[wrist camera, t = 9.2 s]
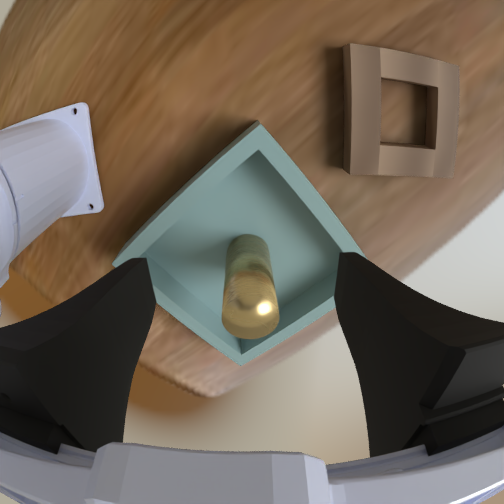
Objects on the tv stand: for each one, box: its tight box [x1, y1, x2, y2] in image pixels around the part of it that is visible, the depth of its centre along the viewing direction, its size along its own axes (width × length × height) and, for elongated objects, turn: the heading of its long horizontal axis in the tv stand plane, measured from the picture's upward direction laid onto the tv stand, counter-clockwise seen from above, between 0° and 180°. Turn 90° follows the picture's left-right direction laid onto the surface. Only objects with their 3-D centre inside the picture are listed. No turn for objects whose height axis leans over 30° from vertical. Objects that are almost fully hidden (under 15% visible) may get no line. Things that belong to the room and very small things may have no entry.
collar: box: [342, 43, 459, 178], centre depth 17 cm, size 8×8×2 cm
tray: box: [112, 120, 368, 366], centre depth 21 cm, size 13×13×3 cm
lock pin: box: [222, 234, 279, 339], centre depth 19 cm, size 3×3×7 cm
